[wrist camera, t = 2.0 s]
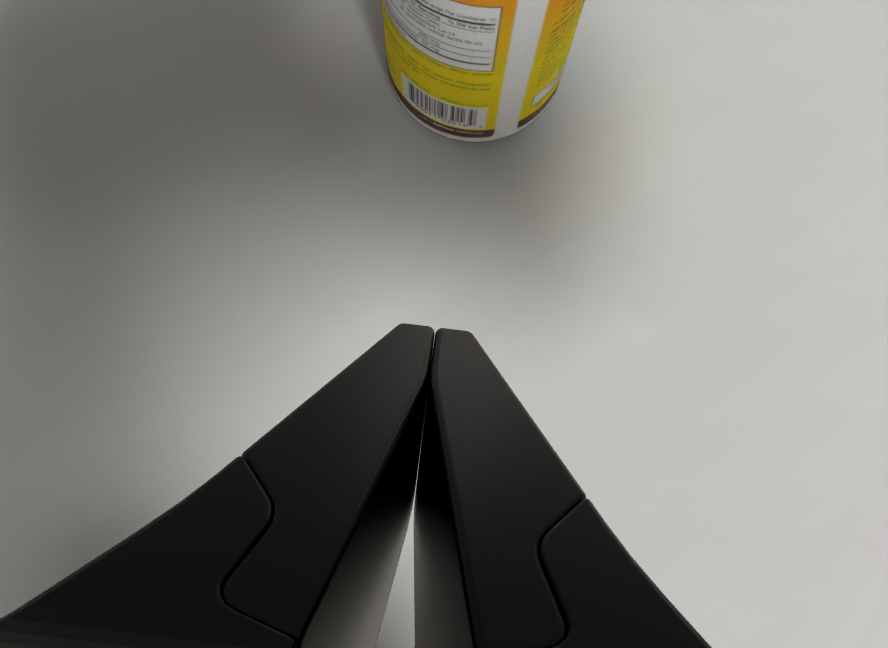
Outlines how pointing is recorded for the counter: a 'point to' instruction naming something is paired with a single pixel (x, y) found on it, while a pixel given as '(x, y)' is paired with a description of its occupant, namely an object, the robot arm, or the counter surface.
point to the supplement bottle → (477, 61)
